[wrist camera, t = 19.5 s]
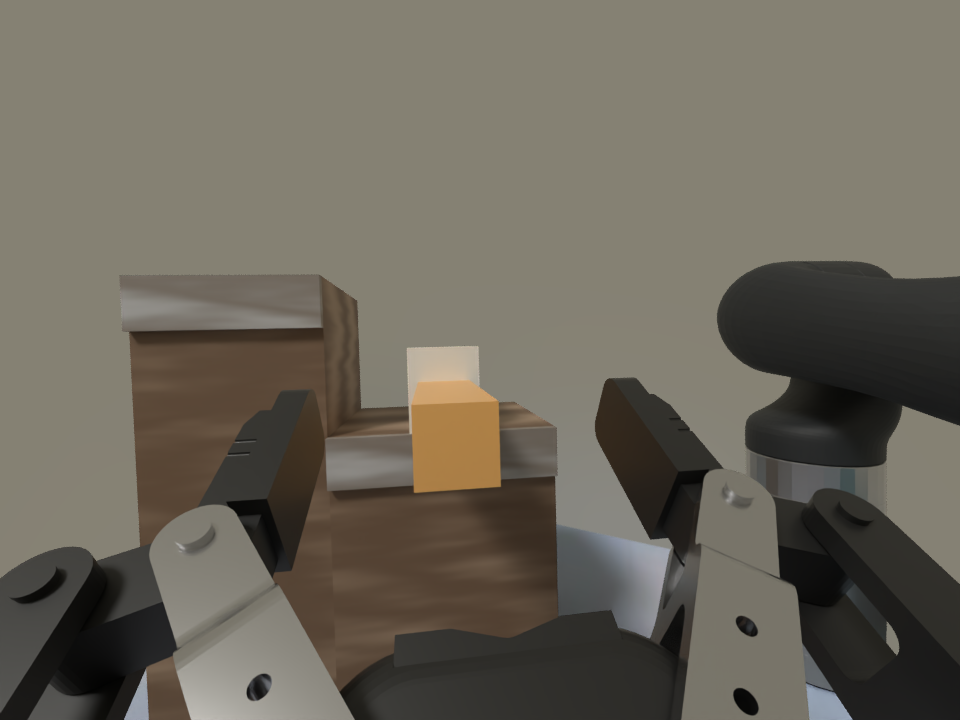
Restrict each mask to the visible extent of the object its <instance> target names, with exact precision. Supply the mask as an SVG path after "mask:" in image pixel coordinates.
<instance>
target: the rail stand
mask: <svg viewBox="0 0 960 720" xmlns="http://www.w3.org/2000/svg"><path fill="white" fill-rule="evenodd" d="M120 294H121V314H122V331H125V332H129V334H130V335H129V336H130V353H131V354H130V355H131V373H132V394H133V413H134V434H135V453H136V472H137V473H136V474H137V492H138V512H139V532H140V547H142V546H145V545H147V544H150V543H152V542H153V541H154V539H155V537H156V536H157V535H158V533H159V532H160V531H161V530H162V529H163V528H164V527H165V526H166V525H167V524H168V523H170V522H171V521H172V520H174V519H175V518H177V517H178V516H180V515H182V514H183V513H185V512H187V511H190V510H192V509H195V508H197V507H198V505H199V503H200V501H201V500H202V498H203V496H204V494H205V493H206V491H207V489H208V487H209V485H210V484H211V482H212V480H213V478H214V476H215V475H216V473H217V471H218V469H219V467H220V466H221V464H222V462H223V460H224V458H225V457H227V456H228V451H229V450H230V448H231V446H232V444H233V443H235V439H236V437H237V435H238V433H239V432H240V430H241V428H242V426H243V424H245V423H246V422H247V421H248V420H249V419H250V418H252V417H253V416H254V415H255V414H256V413H257V412H259V411H260V410H271V409H272V407H273V405H274V403H275V401H276V399H277V397H278V395H279V393H280V392H281V391H282V390H300V389H313V390H314V392H315V394H316V398H317V403H318V407H319V412H320V417H321V422H322V427H323V431H324V439H325V448H324V456H323V460H322V463H321V467H320V471H319V474H318V478H317V481H316V485H315V489H314V492H313V496H312V500H311V503H310V507H309V510H308V514H307V518H306V521H305V525H304V528H303V532H302V536H301V539H300V543H299V546H298V550H297V554H296V557H295V561H294V564H293V568H292V571H286V572H275V573H274V575H273V578H272V579H273V581H274V583H275V584H276V583H277V584H278V585H279V586H280V588H281V589H282V591H283V593H284V595H285V596H286V598H287V600H288V602H289V603H290V605H291V607H292V609H293V611H294V612H295V614H296V616H297V618H298V620H299V621H300V623H301V625H302V627H303V628H304V630H305V632H306V634H307V636H308V637H309V639H310V641H311V643H312V644H313V646H314V648H315V650H316V652H317V653H318V655H319V657H320V659H321V661H322V662H323V664H324V666H325V668H326V669H327V671H328V673H329V675H330V677H331V678H332V680H333V682H334V684H335V686H336V687H337V689H338V691H339V692H340V691H341V690H342V688H343V687H344V686H345V685H347V684H348V683H349V682H350V681H351V680H352V679H353V678H354V677H355V676H356V675H358V674H359V673H360V672H362V671H363V670H364V669H366V668H367V667H368V666H370V665H371V664H373V663H375V662H376V661H378V660H380V659H382V658H383V657H386V656H388V655H390V654H393V653H394V641H395V635H399V634H407V633H416V632H425V631H434V630H442V629H456V630H462V631H468V632H474V633H480V634H486V635H491V636H497V637H503V638H510V637H514V636H517V635H519V634H521V633H523V632H526V631H528V630H530V629H532V628H535V627H537V626H539V625H541V624H544V623H546V622H548V621H551V620H553V619H555V618H557V617H558V587H557V542H556V499H555V497H556V496H555V476H557V475H558V474H557V430H556V429H557V428H556V427H555V426H553V425H551V424H550V423H548V422H546V421H545V420H543V419H542V418H540V417H538V416H537V415H535V414H533V413H532V412H530V411H528V410H527V409H525V408H523V407H522V406H520V405H519V404H517V403H515V402H501V403H499V434H500V473H501V487H490V488H476V489H462V490H448V491H434V492H419V493H414V479H413V447H412V434H410V432H409V406H408V407H387V408H365V409H364V408H363V409H361V397H360V369H359V368H360V366H359V339H358V310H357V300H355V299H354V298H352V297H351V296H349V295H347V294H346V293H345V292H344V291H342V290H341V289H339V288H338V287H336V286H335V285H333V284H332V283H331V282H329V281H327V280H326V279H325V278H323V277H322V276H320V275H120ZM146 671H147V690H148V710H149V720H191V718H190V715H189V711H188V708H187V705H186V701H185V698H184V695H183V691H182V688H181V685H180V681H179V678H178V675H177V671H176V668H175V664H174V659H173V656H171V657H169V658H167V659H164V660H162V661H159V662H157V663H155V664H152V665H150V666H148V667H146Z"/></svg>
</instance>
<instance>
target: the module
mask: <svg viewBox="0 0 960 720" xmlns="http://www.w3.org/2000/svg"><path fill="white" fill-rule="evenodd" d="M407 369H408V400H409V432H410V434H412V447H413V479H414V493H419V492H434V491H448V490H462V489H476V488H490V487H501V473H500V434H499V401H498V400H496V399H495V398H494V397H492V396H491V395H489V394H488V393H486V392H485V391H484V390H482V389H481V388H480V387H479V351H478V346H459V347H421V348H407Z"/></svg>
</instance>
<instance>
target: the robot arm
mask: <svg viewBox="0 0 960 720" xmlns="http://www.w3.org/2000/svg"><path fill="white" fill-rule="evenodd" d="M717 323H718V328H719V332H720V335H721V337H722V340H723V342H724V343H725V345H726V346H727V348H728V349H729V350H730V351H731V352H732V354H733V355H734V356H736V357H737V358H738V359H739V360H740V361H741V362H743V363H744V364H746V365H748V366H750V367H751V368H753V369H756V370H759V371H762V372H766V373H771V374H777V375H782V376H787V377H791V379H790V384H789V387H788V389H787V390H786V392H785V393H784V394H783V395H782V396H781V397H780V398H779V399H777V400H776V401H775V402H773V403H772V404H770V405H768V406H767V407H765V408H763V409H761V410H758V411H756V412H755V413H753V414H752V415H750V416H749V418H748V419H747V421H746V426H745V445H746V447H745V450H746V451H745V452H746V453H745V454H746V475H744V474H742V473H739V472H736V471H733V470H727V469H723V467H722V466H721V465H720V464H719V463H718V461H717V460H716V459H715V458H714V457H713V455H712V454H711V453H710V452H709V451H708V450H707V448H706V447H705V446H704V445H703V444H702V442H701V441H700V440H699V439H698V438H697V436H696V435H695V434H694V433H693V432H692V431H690V428H689V427H688V426H687V425H686V424H685V422H684V421H683V420H681V417H680V416H679V415H678V414H677V413H676V412H675V410H674V409H673V408H672V407H671V406H670V405H669V404H668V403H666V402H665V401H663V400H662V399H660V398H659V397H657V396H656V395H654V394H649V393H648V392H647V391H646V389H645V388H644V387H643V386H642V384H641V383H640V382H639V381H638V380H637V379H636V378H611V379H610V378H609V379H607V380H606V381H605V384H604V387H603V391H602V395H601V399H600V404H599V408H598V412H597V416H596V420H595V432H596V437H597V440H598V442H599V444H600V446H601V448H602V450H603V452H604V454H605V456H606V457H607V459H608V461H609V463H610V465H611V467H612V469H613V470H614V472H615V474H616V476H617V478H618V480H619V482H620V484H621V486H622V487H623V489H624V491H625V493H626V495H627V497H628V499H629V500H630V502H631V504H632V506H633V508H634V510H635V512H636V514H637V515H638V517H639V519H640V521H641V523H642V525H643V527H644V529H645V530H646V532H647V534H648V536H649V538H650V539H660V538H669V540H670V542H671V543H672V545H673V546H672V548H671V550H670V553H669V557H668V562H667V567H666V572H665V578H664V583H663V588H662V593H661V598H660V603H659V608H658V613H657V618H656V622H655V626H654V629H653V632H652V634H651V637H650V639H648V638H646V637H644V636H642V635H639V634H637V633H634V632H631V631H628V630H625V629H621V628H618V627H617V624H616V621H615V619H614V616H613V613H612V611H611V610H609V611H600V612H591V613H582V614H574V615H565V616H560V617H557V618H555V619H553V620H551V621H548V622H546V623H544V624H541V625H539V626H537V627H535V628H532V629H530V630H528V631H526V632H523V633H521V634H519V635H517V636H514V637H510V638H503V637H497V636H491V635H486V634H480V633H474V632H468V631H462V630H456V629H442V630H434V631H425V632H416V633H407V634H399V635H395V641H394V653H393V654H390V655H388V656H386V657H383V658H382V659H380V660H378V661H376V662H375V663H373V664H371V665H370V666H368V667H367V668H366V669H364V670H363V671H362V672H360V673H359V674H358V675H356V676H355V677H354V678H353V679H352V680H351V681H350V682H349V683H348V684H347V685H345V686H344V687H343V688H342V690H341V691H340V692H339V691H338V689H337V687H336V686H335V684H334V682H333V680H332V678H331V677H330V675H329V673H328V671H327V669H326V668H325V666H324V664H323V662H322V661H321V659H320V657H319V655H318V653H317V652H316V650H315V648H314V646H313V644H312V643H311V641H310V639H309V637H308V636H307V634H306V632H305V630H304V628H303V627H302V625H301V623H300V621H299V620H298V618H297V616H296V614H295V612H294V611H293V609H292V607H291V605H290V603H289V602H288V600H287V598H286V596H285V595H284V593H283V591H282V589H281V588H280V586H279V585H278V584H277V583H276V584H275V583H274V581H273V579H272V578H273V575H274V573H275V572H286V571H292V568H293V564H294V561H295V557H296V554H297V550H298V546H299V543H300V539H301V536H302V532H303V528H304V525H305V521H306V518H307V514H308V510H309V507H310V503H311V500H312V496H313V492H314V489H315V485H316V481H317V478H318V474H319V471H320V467H321V463H322V460H323V456H324V448H325V439H324V431H323V427H322V422H321V417H320V412H319V407H318V403H317V398H316V394H315V392H314V390H313V389H300V390H282V391H281V392H280V393H279V395H278V397H277V399H276V401H275V403H274V405H273V407H272V409H271V410H260V411H259V412H257V413H256V414H255V415H254V416H253V417H252V418H250V419H249V420H248V421H247V422H246V423H245V424H243V426H242V428H241V430H240V432H239V433H238V435H237V437H236V439H235V443H233V444H232V446H231V448H230V450H229V451H228V456H227V457H225V458H224V460H223V462H222V464H221V466H220V467H219V469H218V471H217V473H216V475H215V476H214V478H213V480H212V482H211V484H210V485H209V487H208V489H207V491H206V493H205V494H204V496H203V498H202V500H201V501H200V503H199V505H198V507H197V508H195V509H192V510H190V511H187V512H185V513H183V514H182V515H180V516H178V517H177V518H175V519H174V520H172V521H171V522H170V523H168V524H167V525H166V526H165V527H164V528H163V529H162V530H161V531H160V532H159V533H158V535H157V536H156V537H155V539H154V541H153V542H152V543H150V544H147V545H145V546H142V547H139V548H136V549H132V550H130V551H126V552H123V553H120V554H117V555H114V556H111V557H107V558H104V559H101V560H98V561H96V560H95V559H94V558H93V556H92V555H91V554H90V552H89V551H87V550H86V549H83V548H80V547H63V548H58V549H54V550H51V551H48V552H45V553H43V554H40V555H37V556H35V557H33V558H31V559H29V560H27V561H25V562H24V563H22V564H20V565H19V566H17V567H16V568H14V569H12V570H11V571H9V572H8V573H7V574H5V575H4V576H3V577H2V578H0V720H124V718H125V716H126V713H127V711H128V709H129V706H130V704H131V702H132V699H133V697H134V695H135V693H136V690H137V688H138V686H139V683H140V681H141V679H142V676H143V674H144V672H145V670H146V667H148V666H150V665H152V664H155V663H157V662H159V661H162V660H164V659H167V658H169V657H171V656H173V659H174V664H175V668H176V671H177V675H178V678H179V681H180V685H181V688H182V691H183V695H184V698H185V701H186V705H187V708H188V711H189V715H190V718H191V720H809V711H808V701H807V690H806V682H807V683H810V684H812V685H815V686H818V687H821V688H824V689H828V690H831V691H834V692H835V693H836V695H837V697H838V698H839V700H840V701H841V703H842V704H843V706H844V707H845V709H846V710H847V712H848V713H849V715H850V716H851V718H852V719H853V720H960V584H959V583H958V582H957V581H956V580H954V579H953V578H952V577H951V576H950V575H949V574H948V573H947V572H946V571H945V570H944V569H943V568H942V567H941V566H939V565H938V564H937V563H936V562H935V561H934V560H933V559H932V558H931V557H930V556H929V555H928V554H927V553H925V552H924V551H923V550H922V549H921V548H920V547H919V546H918V545H917V544H916V543H915V542H914V541H913V540H911V539H910V538H909V537H908V536H907V535H906V534H905V533H904V532H903V531H902V530H901V529H900V528H899V527H898V526H896V525H895V524H894V523H893V522H892V521H891V520H890V519H889V518H888V517H887V501H886V454H887V453H886V452H887V443H888V440H889V438H890V437H891V435H892V433H893V432H894V430H895V429H896V427H897V425H898V423H899V420H900V417H901V412H902V405H903V406H905V407H908V408H911V409H914V410H916V411H920V412H922V413H925V414H928V415H931V416H933V417H936V418H939V419H942V420H945V421H948V422H951V423H953V424H957V425H959V426H960V276H959V277H944V278H921V279H893V278H892V277H891V276H890V274H888V273H887V272H886V271H884V270H883V269H881V268H879V267H877V266H875V265H872V264H868V263H863V262H852V261H788V262H779V263H772V264H768V265H764V266H761V267H758V268H756V269H754V270H752V271H750V272H748V273H746V274H744V275H743V276H741V277H740V278H739V279H737V280H736V281H735V282H734V283H733V284H732V285H731V286H730V287H729V289H728V290H727V292H726V293H725V294H724V296H723V298H722V300H721V302H720V304H719V308H718V313H717ZM887 622H888V623H889V624H890V625H891V626H892V628H893V630H894V631H895V633H896V635H897V638H898V641H899V653H898V655H897V656H896V654H895V653H894V652H893V651H892V650H891V648H890V647H889V646H888V645H887V643H886V631H887V626H886V625H887Z"/></svg>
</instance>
